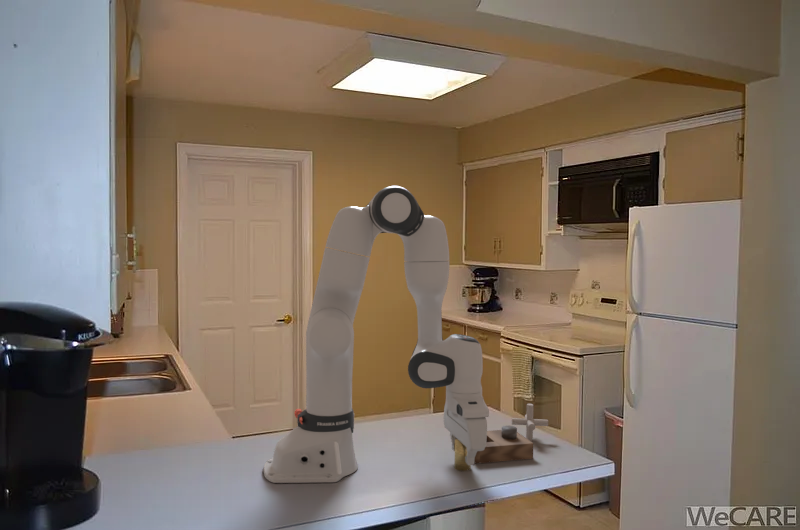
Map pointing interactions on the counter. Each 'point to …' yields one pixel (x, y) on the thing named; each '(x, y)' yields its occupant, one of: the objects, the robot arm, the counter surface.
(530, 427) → the pipe connector
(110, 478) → the counter surface
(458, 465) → the tan cylinder
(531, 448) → the jig
